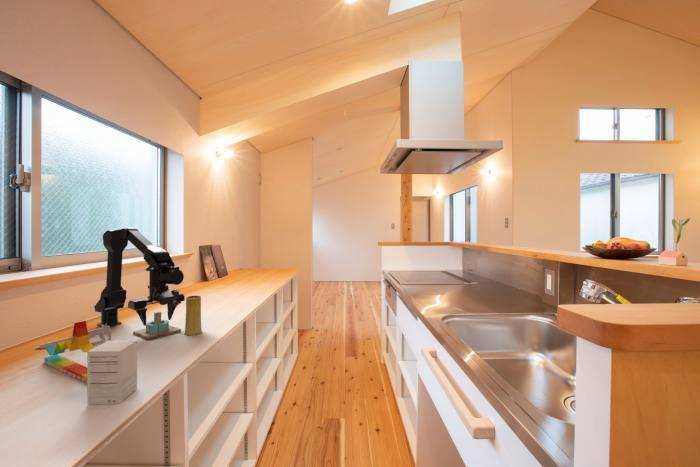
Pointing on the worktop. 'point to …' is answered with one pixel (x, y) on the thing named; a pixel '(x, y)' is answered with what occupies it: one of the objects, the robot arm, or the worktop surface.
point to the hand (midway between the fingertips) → (157, 322)
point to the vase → (193, 315)
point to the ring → (157, 327)
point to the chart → (78, 342)
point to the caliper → (91, 334)
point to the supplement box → (111, 372)
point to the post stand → (151, 336)
